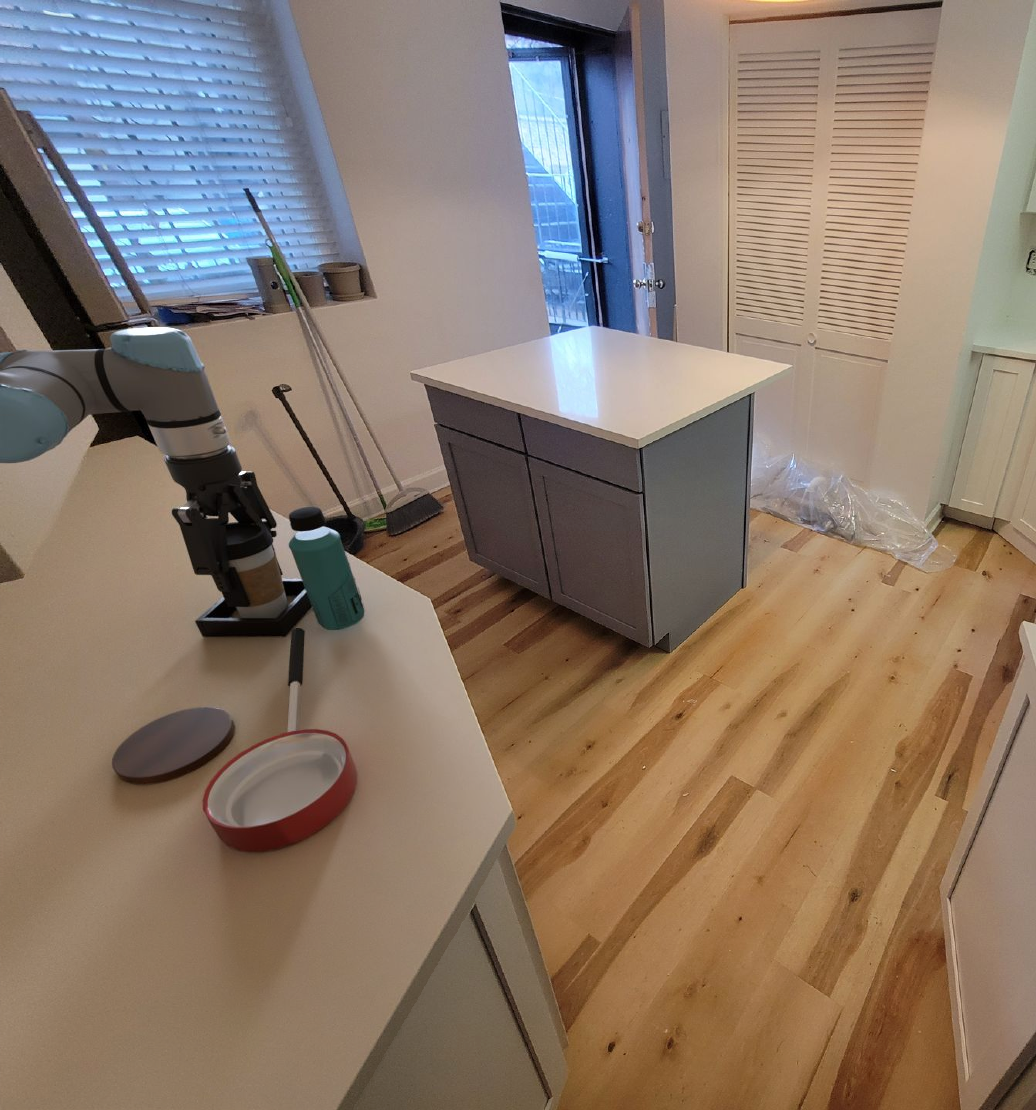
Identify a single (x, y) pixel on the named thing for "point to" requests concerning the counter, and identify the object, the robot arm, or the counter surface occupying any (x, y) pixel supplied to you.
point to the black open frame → (221, 625)
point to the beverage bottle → (324, 570)
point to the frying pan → (282, 780)
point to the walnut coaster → (173, 745)
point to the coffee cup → (256, 569)
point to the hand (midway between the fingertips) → (256, 589)
